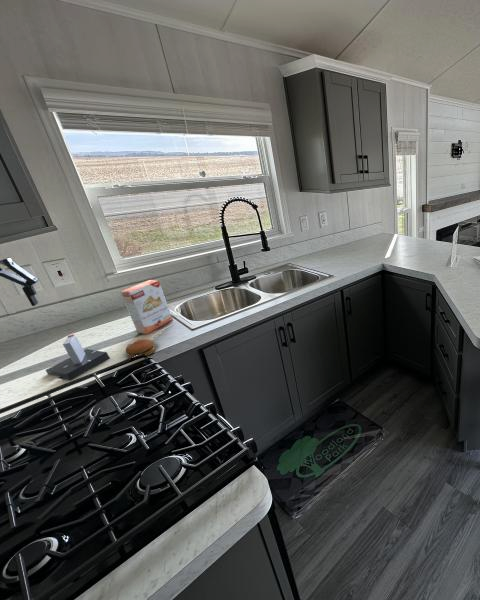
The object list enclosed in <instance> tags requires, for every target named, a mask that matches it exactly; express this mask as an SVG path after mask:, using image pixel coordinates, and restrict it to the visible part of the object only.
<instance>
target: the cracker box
mask: <svg viewBox="0 0 480 600" xmlns="http://www.w3.org/2000/svg"><path fill="white" fill-rule="evenodd" d="M119 293H120V295H121V297H122V299H123V303H124V304H125V306H126V310H127V311H128V314H129V316H130V318H131V320H132V324H133V326H134V328H135V330H136V333H138V334H144V335H148V334H150V333H152V332H153V331H156V330H158V329H159V328H161V327H163V326H164V325H165V326H166V325H167V324H169V323H170V322H172V321H173V320H174V319H173V316H172V313H171V311H170V307H169V305H168V302H167V300H166V297H165V293H164V291H163V288H162V286H161V283H160V281H159V280H157V279H155V280H153V279H149V280H146V281H143V282H140V283H138V284H135V285H133V286H131V287H127V288H126V289H123V290H121V291H120V292H119Z"/></svg>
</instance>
